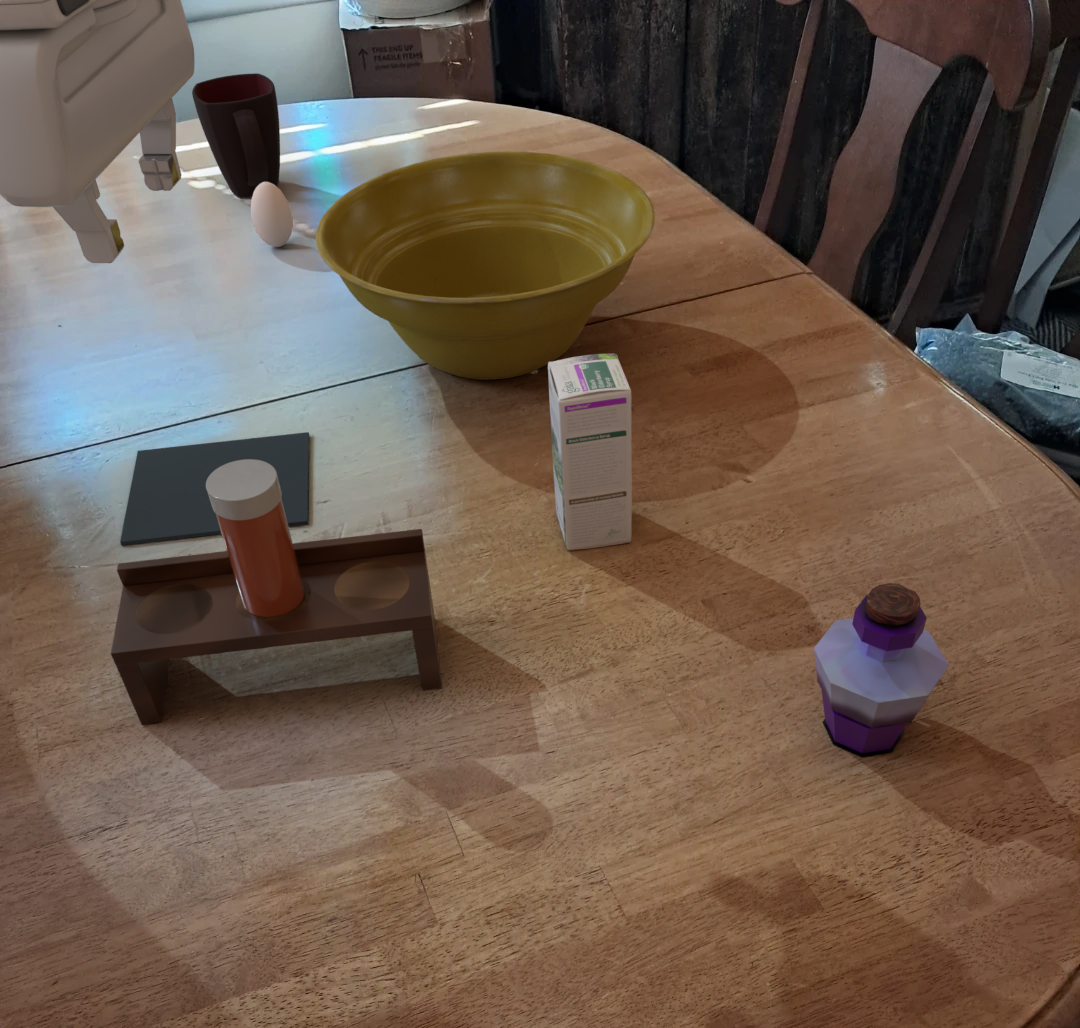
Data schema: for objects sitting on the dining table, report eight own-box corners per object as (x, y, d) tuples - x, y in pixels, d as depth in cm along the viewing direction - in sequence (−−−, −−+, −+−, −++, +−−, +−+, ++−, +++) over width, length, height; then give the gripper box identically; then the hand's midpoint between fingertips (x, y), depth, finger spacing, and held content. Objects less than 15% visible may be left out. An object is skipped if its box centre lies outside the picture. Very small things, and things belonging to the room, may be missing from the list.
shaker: (239, 621, 80) (203, 504, 73) (242, 579, 83) (207, 463, 76) (305, 614, 80) (275, 495, 73) (306, 572, 84) (277, 455, 76)
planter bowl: (398, 467, 105) (377, 330, 95) (301, 315, 125) (275, 190, 115) (708, 380, 113) (718, 245, 103) (569, 250, 133) (566, 128, 124)
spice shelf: (141, 725, 84) (103, 637, 77) (152, 650, 89) (117, 562, 83) (442, 688, 85) (428, 598, 79) (434, 617, 90) (421, 528, 84)
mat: (121, 545, 98) (119, 542, 98) (138, 454, 108) (137, 450, 108) (308, 524, 99) (307, 520, 99) (309, 435, 109) (308, 431, 109)
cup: (284, 167, 154) (265, 69, 145) (307, 207, 145) (287, 105, 136) (210, 181, 152) (186, 82, 143) (228, 222, 143) (204, 119, 134)
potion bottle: (927, 692, 83) (965, 561, 74) (927, 782, 77) (968, 652, 68) (805, 677, 84) (828, 546, 76) (796, 764, 79) (820, 634, 70)
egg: (271, 235, 140) (257, 172, 134) (304, 239, 138) (292, 176, 133) (251, 252, 137) (236, 188, 131) (285, 256, 135) (271, 193, 130)
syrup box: (633, 543, 96) (636, 387, 85) (563, 553, 95) (558, 397, 85) (619, 503, 100) (620, 349, 89) (551, 512, 99) (545, 358, 89)
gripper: (75, -113, 64) (148, 149, 74) (-112, -1, 50) (10, 303, 60) (184, -116, 63) (243, 149, 73) (25, -3, 49) (125, 305, 59)
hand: (137, 220), depth 66 cm, fingers open, 8 cm apart
